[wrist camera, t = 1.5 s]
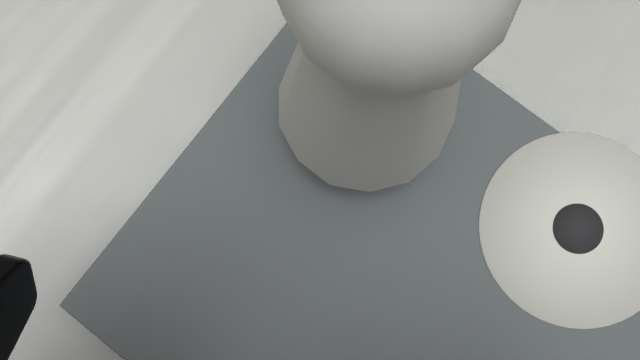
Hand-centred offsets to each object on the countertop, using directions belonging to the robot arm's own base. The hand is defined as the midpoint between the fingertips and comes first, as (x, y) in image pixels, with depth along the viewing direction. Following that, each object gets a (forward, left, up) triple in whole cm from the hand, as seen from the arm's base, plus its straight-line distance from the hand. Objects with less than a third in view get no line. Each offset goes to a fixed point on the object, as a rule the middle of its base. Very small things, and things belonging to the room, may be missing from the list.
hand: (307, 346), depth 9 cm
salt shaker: (+6, +3, -12) cm, 14 cm away
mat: (+2, -5, -12) cm, 14 cm away
